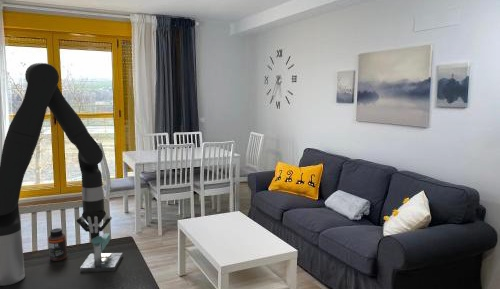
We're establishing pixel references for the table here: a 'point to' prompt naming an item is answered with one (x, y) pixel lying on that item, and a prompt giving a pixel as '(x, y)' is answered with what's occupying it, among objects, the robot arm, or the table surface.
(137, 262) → the table surface
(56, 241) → the supplement bottle
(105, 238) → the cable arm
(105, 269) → the plate
